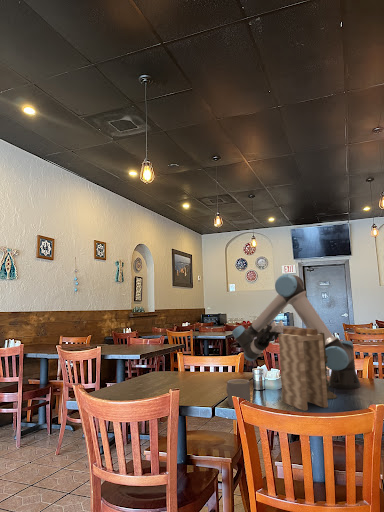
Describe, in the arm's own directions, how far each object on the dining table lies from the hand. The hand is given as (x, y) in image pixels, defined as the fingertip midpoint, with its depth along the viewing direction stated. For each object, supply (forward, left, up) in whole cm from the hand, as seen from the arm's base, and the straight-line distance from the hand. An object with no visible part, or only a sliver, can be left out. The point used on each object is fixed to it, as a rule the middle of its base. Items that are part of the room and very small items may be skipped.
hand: (278, 323), depth 190 cm
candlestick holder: (-20, +1, -34) cm, 40 cm away
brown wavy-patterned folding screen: (-9, +15, -34) cm, 38 cm away
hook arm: (-1, +2, -4) cm, 5 cm away
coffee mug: (+20, +15, -34) cm, 43 cm away
